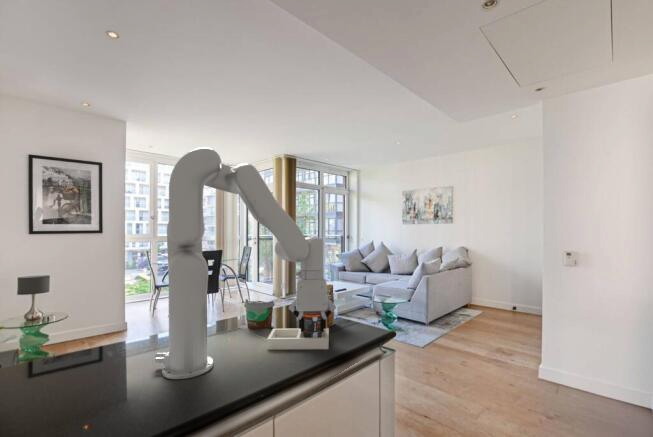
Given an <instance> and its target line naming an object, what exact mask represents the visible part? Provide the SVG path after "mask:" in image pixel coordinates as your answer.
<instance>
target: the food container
mask: <svg viewBox="0 0 653 437" xmlns="http://www.w3.org/2000/svg"><path fill="white" fill-rule="evenodd" d="M243 303H244V304H243V307H244V308H245V313H246V322H247V328H248V329H249V330H252V331H253V330H254V331H255V330H256V331H259V330H266V329H270V328H271V327H272V324H273V310H274V307H275V305H276V304H275V301H274V300H270V301H262V300H256V301H252V300H249V299H248V298H246V299H245V300H244V302H243Z"/></svg>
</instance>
